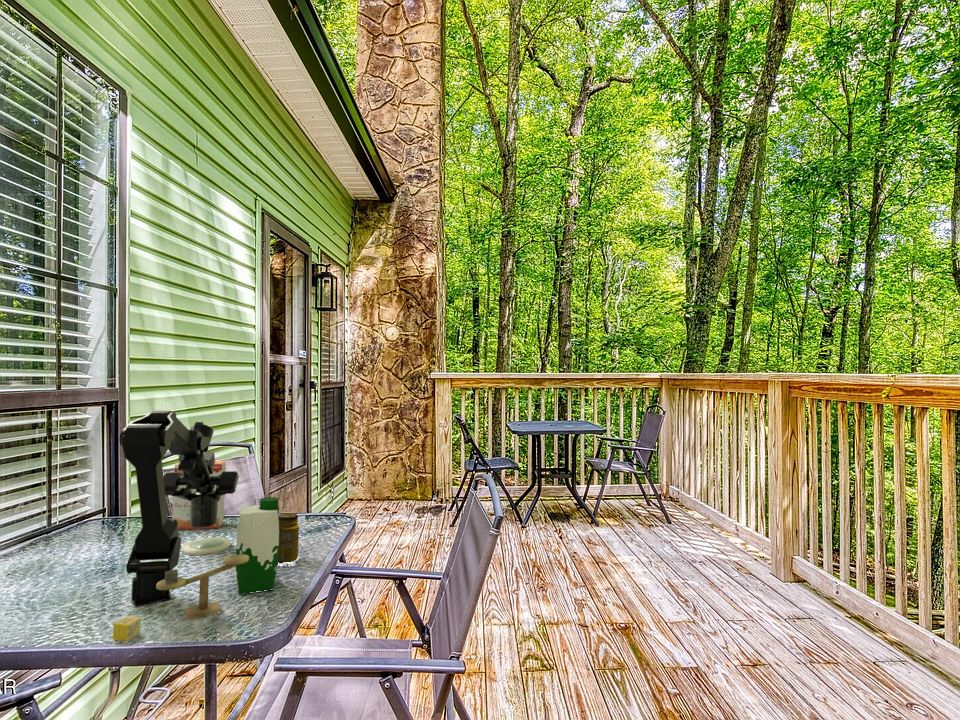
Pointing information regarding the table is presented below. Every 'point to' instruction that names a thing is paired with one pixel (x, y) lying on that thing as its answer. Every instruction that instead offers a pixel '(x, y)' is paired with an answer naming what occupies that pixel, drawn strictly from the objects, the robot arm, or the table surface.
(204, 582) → the balance
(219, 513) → the cracker box
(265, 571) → the milk carton
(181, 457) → the robot arm
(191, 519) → the supplement bottle
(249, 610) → the table surface
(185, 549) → the dish
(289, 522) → the condiment
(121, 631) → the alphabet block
